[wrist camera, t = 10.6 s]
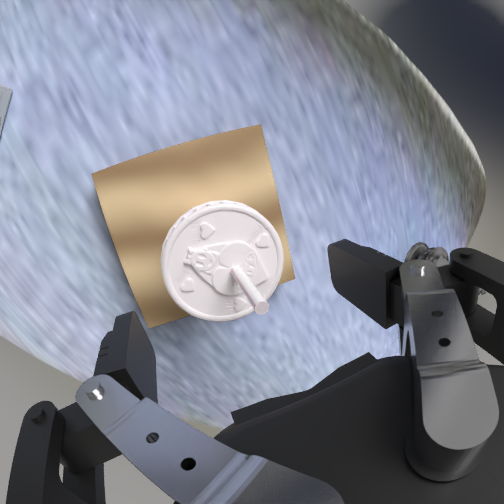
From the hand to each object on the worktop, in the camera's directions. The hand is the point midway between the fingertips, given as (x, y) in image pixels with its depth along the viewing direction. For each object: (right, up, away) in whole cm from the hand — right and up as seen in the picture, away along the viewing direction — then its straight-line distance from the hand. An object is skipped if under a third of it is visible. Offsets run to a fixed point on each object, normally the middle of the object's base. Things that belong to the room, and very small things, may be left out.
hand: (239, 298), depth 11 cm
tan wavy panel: (-5, +4, +15) cm, 16 cm away
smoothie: (-4, +4, +13) cm, 14 cm away
